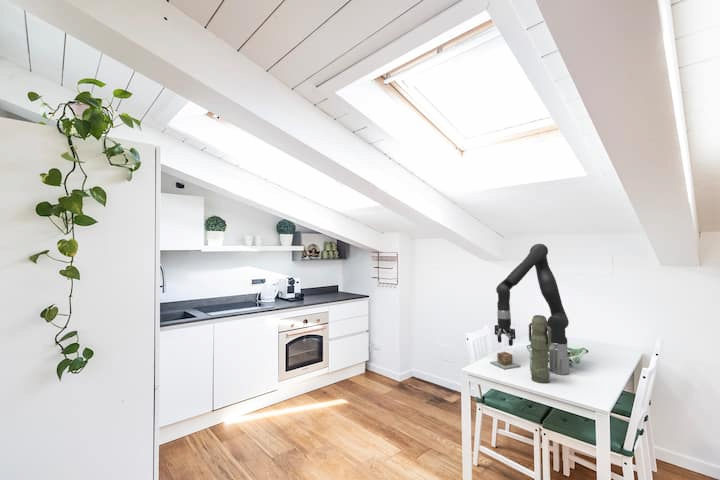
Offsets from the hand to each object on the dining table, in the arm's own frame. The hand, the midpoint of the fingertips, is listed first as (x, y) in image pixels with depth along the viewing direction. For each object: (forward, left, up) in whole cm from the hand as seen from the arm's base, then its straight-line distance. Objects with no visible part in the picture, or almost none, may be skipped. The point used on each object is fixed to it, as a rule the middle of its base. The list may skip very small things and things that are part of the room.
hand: (505, 343), depth 210 cm
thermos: (-25, 0, -13) cm, 28 cm away
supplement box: (-14, -11, -13) cm, 22 cm away
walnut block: (+1, 0, -12) cm, 12 cm away
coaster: (+1, 0, -13) cm, 13 cm away
